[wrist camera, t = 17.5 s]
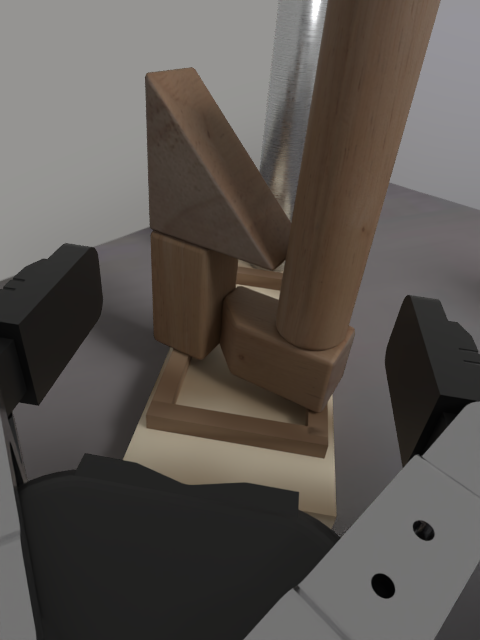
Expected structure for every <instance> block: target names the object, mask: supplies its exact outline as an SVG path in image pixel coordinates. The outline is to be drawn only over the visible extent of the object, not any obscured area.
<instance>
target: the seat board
mask: <svg viewBox="0 0 480 640" xmlns="http://www.w3.org/2000/svg"><path fill="white" fill-rule="evenodd" d="M282 277H283V272H273V271H266V270H259V269H254V268H253V267H252V266H251V265H250V263H248V262H245V261H242V260H239V259H238V270H237V280H236V287H237V286H243V287H246V288H249V289H251V290H254V291H257V292H260V293H262V294H265V295H268V296H270V297H273V298H276V299H278V300H279V296H280V290H281V283H282ZM123 460H125V461H131V462H136V463H138V464H141V465H143V466H145V467H147V468H150V469H152V470H154V471H156V472H159V473H161V474H163V475H165V476H167V477H170V478H172V479H174V480H176V481H179V482H181V483H184V484H188V485H200V484H220V483H240V482H247V483H252V484H258V485H263V486H269V487H275V488H280V489H286V490H291V491H297V492H299V510H301V511H303V512H305V513H307V514H309V515H311V516H312V517H314V518H316V519H318V520H319V521H321V522H322V523H323V524H325V525H326V526H327V527H329V528H330V529H331V530H332V527H333V525H334V522H335V519H336V487H335V458H334V428H333V399H332V395H331V397H330V399H329V401H328V402H327V404H326V406H325V408H324V409H323V410H322V411H321V412H320V413H317V412H314V411H312V410H309V409H307V408H305V407H303V406H301V405H298V404H296V403H294V402H292V401H290V400H287V399H285V398H283V397H281V396H279V395H276V394H274V393H272V392H270V391H268V390H266V389H263V388H261V387H259V386H257V385H255V384H252V383H250V382H248V381H246V380H244V379H241V378H239V377H237V376H235V375H233V374H232V373H231V372H230V370H229V368H228V365H227V363H226V360H225V357H224V355H223V352H222V349H221V346H220V343H219V344H218V345H217V346H216V347H215V348H214V349H213V350H212V351H211V352H210V353H209V354H208V355H207V356H206V357H205V358H204V359H202V360H199V359H196V358H194V357H191V356H189V355H187V354H185V353H183V352H180V351H178V350H176V349H174V348H172V347H171V348H170V350H169V352H168V355H167V357H166V359H165V362H164V364H163V366H162V369H161V371H160V373H159V376H158V378H157V381H156V383H155V385H154V388H153V390H152V392H151V395H150V397H149V399H148V402H147V404H146V406H145V409H144V411H143V414H142V416H141V418H140V421H139V423H138V425H137V428H136V430H135V432H134V435H133V437H132V440H131V442H130V444H129V447H128V449H127V451H126V454H125V456H124V458H123Z"/></svg>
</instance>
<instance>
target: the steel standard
mask: <svg viewBox="0 0 480 640" xmlns="http://www.w3.org/2000/svg"><path fill="white" fill-rule="evenodd" d="M327 2H328V0H279V1H278V10H277V19H276V28H275V37H274V46H273V55H272V64H271V73H270V82H269V91H268V100H267V109H266V118H265V127H264V135H263V145H262V154H261V162H260V171H259V172H260V174H261V175H262V177H263V179H264V180H265V182H266V183H267V185H268V187H269V188H270V190H271V191H272V193H273V195H274V196H275V198H276V199H277V201H278V203H279V204H280V206H281V207H282V209H283V211H284V212H285V214H286V215H287V217H288V218H289V220H290V222H292V216H293V210H294V204H295V198H296V192H297V186H298V179H299V173H300V167H301V161H302V155H303V149H304V143H305V137H306V130H307V124H308V118H309V112H310V106H311V100H312V94H313V88H314V82H315V75H316V69H317V63H318V57H319V51H320V45H321V39H322V33H323V27H324V20H325V14H326V8H327ZM250 265H251V266H252V267H253V268H254V269H259V270H266V271H271V270H268V269H265V268H262V267H259V266H256V265H253V264H251V263H250ZM284 265H285V261H284V262H283V263H282V264H281V265H280V266H278V267H277V268H276V269H275V270H273V272H283V271H284Z"/></svg>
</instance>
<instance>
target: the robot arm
mask: <svg viewBox="0 0 480 640" xmlns="http://www.w3.org/2000/svg"><path fill="white" fill-rule="evenodd" d="M102 304H103V296H102V287H101V277H100V268H99V259H98V253H97V251H96V249H95V248H93V247H88V246H81V245H74V244H68V243H66V244H63V245H62V246H61V247H60V248H59V249H58V250H57V251H55V252H54V253H53V255H51V256H50V257H49V258H48V259H41V260H39V261H37V262H35V263H33V264H30V265H28V266H26V267H25V268H24V269H22V270H21V271H20V272H19V273H18V274H17V275H16V276H15V277H13V280H10V281H9V282H8V283H7V284H6V285H5V286H4V287H3V289H0V640H434V638H435V637H436V635H437V633H438V632H439V630H440V628H441V626H442V625H443V623H444V621H445V619H446V618H447V616H448V614H449V613H450V611H451V609H452V607H453V606H454V604H455V602H456V600H457V599H458V597H459V595H460V594H461V592H462V590H463V588H464V587H465V585H466V583H467V581H468V580H469V578H470V576H471V575H472V573H473V571H474V569H475V568H476V566H477V564H478V563H479V561H480V354H478V349H477V347H476V345H475V343H474V340H473V338H472V336H471V335H470V334H469V333H468V332H467V331H466V330H465V329H464V328H463V327H462V326H461V325H460V324H459V323H458V322H452V321H448V320H447V317H446V315H445V312H444V310H443V307H442V305H441V302H440V301H439V300H438V299H431V298H425V297H418V296H411V295H407V296H406V297H405V299H404V301H403V303H402V306H401V308H400V311H399V314H398V317H397V320H396V322H395V325H394V328H393V331H392V334H391V336H390V339H389V342H388V345H387V349H386V356H385V368H386V374H387V380H388V385H389V391H390V397H391V403H392V408H393V414H394V420H395V426H396V431H397V437H398V443H399V449H400V454H401V460H402V466H403V469H402V470H401V471H400V472H399V473H398V474H397V476H396V477H395V478H394V479H393V480H392V481H391V482H390V483H389V485H388V486H387V487H386V488H385V489H384V490H383V491H382V492H381V494H380V495H379V496H378V497H377V498H376V499H375V500H374V501H373V503H372V504H371V505H370V506H369V507H368V508H367V509H366V510H365V512H364V513H363V514H362V515H361V516H360V517H359V518H358V519H357V521H356V522H355V523H354V524H353V525H352V526H351V527H350V528H349V530H348V531H347V532H346V533H345V534H344V535H343V536H342V537H341V538H340V537H339V536H338V535H337V534H336V533H335V532H334V531H332V530H331V529H330V528H329V527H327V526H326V525H325V524H323V523H322V522H321V521H319V520H318V519H316V518H314V517H312V516H311V515H309V514H307V513H305V512H303V511H301V510H299V492H297V491H291V490H286V489H280V488H275V487H269V486H263V485H258V484H252V483H247V482H240V483H220V484H200V485H188V484H184V483H181V482H179V481H176V480H174V479H172V478H170V477H167V476H165V475H163V474H161V473H159V472H156V471H154V470H152V469H150V468H147V467H145V466H143V465H141V464H138V463H136V462H131V461H125V460H120V459H114V458H109V457H103V456H97V455H92V454H86V453H85V454H84V456H83V458H82V460H81V462H80V464H79V466H78V468H77V469H76V470H68V471H61V472H56V473H52V474H48V475H44V476H41V477H39V478H36V479H33V480H30V481H28V480H27V476H26V471H25V466H24V461H23V456H22V452H21V447H20V442H19V437H18V432H17V427H16V422H15V418H14V415H13V409H14V408H15V407H16V405H17V404H18V403H19V402H21V403H26V404H32V405H38V406H39V404H40V403H41V401H42V400H43V398H44V397H45V396H46V394H47V393H48V391H49V390H50V388H51V387H52V386H53V384H54V383H55V381H56V380H57V378H58V377H59V375H60V374H61V373H62V371H63V370H64V368H65V367H66V365H67V364H68V362H69V361H70V360H71V358H72V357H73V355H74V354H75V352H76V351H77V350H78V348H79V347H80V345H81V344H82V342H83V341H84V339H85V338H86V337H87V335H88V334H89V332H90V331H91V329H92V328H93V326H94V325H95V324H96V322H97V321H98V319H99V317H100V314H101V310H102Z"/></svg>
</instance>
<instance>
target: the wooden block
mask: <svg viewBox="0 0 480 640" xmlns="http://www.w3.org/2000/svg"><path fill="white" fill-rule="evenodd" d="M439 3H440V0H328V2H327V8H326V14H325V20H324V27H323V33H322V39H321V45H320V51H319V57H318V63H317V69H316V75H315V82H314V88H313V94H312V100H311V106H310V112H309V118H308V124H307V130H306V137H305V143H304V149H303V155H302V161H301V167H300V173H299V179H298V186H297V192H296V198H295V204H294V210H293V216H292V222H290V220H289V218H288V217H287V215H286V214H285V212H284V211H283V209H282V207H281V206H280V204H279V203H278V201H277V199H276V198H275V196H274V195H273V193H272V191H271V190H270V188H269V187H268V185H267V183H266V182H265V180H264V179H263V177H262V175H261V174H260V172H259V171H258V169H257V167H256V166H255V164H254V163H253V161H252V159H251V158H250V156H249V155H248V153H247V151H246V150H245V148H244V147H243V145H242V143H241V142H240V140H239V139H238V137H237V136H236V134H235V133H234V131H233V129H232V128H231V126H230V124H229V123H228V121H227V120H226V118H225V116H224V115H223V113H222V112H221V110H220V108H219V107H218V105H217V104H216V102H215V100H214V99H213V97H212V96H211V94H210V92H209V91H208V89H207V88H206V86H205V85H204V83H203V81H202V80H201V78H200V76H199V75H198V73H197V72H196V70H195V69H194V68H192V67H191V68H183V69H175V70H167V71H159V72H150V73H147V74H146V76H145V87H146V119H147V152H148V183H149V215H150V228H151V229H153V231H152V233H151V262H152V294H153V326H154V338H155V339H156V340H157V341H159V342H161V343H163V344H165V345H167V346H169V347H172V348H174V349H176V350H178V351H180V352H183V353H185V354H187V355H189V356H191V357H194V358H196V359H199V360H202V359H204V358H205V357H206V356H207V355H208V354H209V353H210V352H211V351H212V350H213V349H214V348H215V347H216V346H217V345H218V344H219V343H220V346H221V349H222V352H223V355H224V357H225V360H226V363H227V365H228V368H229V370H230V372H231V373H232V374H233V375H235V376H237V377H239V378H241V379H244V380H246V381H248V382H250V383H252V384H255V385H257V386H259V387H261V388H263V389H266V390H268V391H270V392H272V393H274V394H276V395H279V396H281V397H283V398H285V399H287V400H290V401H292V402H294V403H296V404H298V405H301V406H303V407H305V408H307V409H309V410H312V411H314V412H317V413H320V412H321V411H322V410H323V409H324V408H325V406H326V404H327V402H328V401H329V399H330V397H331V395H332V394H333V392H334V390H335V388H336V387H337V385H338V383H339V382H340V380H341V378H342V376H343V373H344V370H345V366H346V363H347V360H348V356H349V353H350V349H351V346H352V343H353V339H354V336H355V329H354V328H353V327H351V326H349V323H350V319H351V315H352V312H353V308H354V305H355V301H356V298H357V294H358V291H359V287H360V284H361V280H362V277H363V273H364V269H365V266H366V262H367V259H368V255H369V252H370V248H371V245H372V241H373V238H374V234H375V231H376V227H377V223H378V220H379V216H380V213H381V209H382V206H383V202H384V199H385V195H386V192H387V188H388V185H389V181H390V177H391V174H392V170H393V167H394V163H395V160H396V156H397V153H398V149H399V145H400V142H401V139H402V135H403V131H404V128H405V124H406V121H407V117H408V114H409V110H410V107H411V103H412V100H413V96H414V92H415V88H416V85H417V82H418V78H419V75H420V71H421V68H422V64H423V60H424V57H425V53H426V50H427V47H428V43H429V39H430V36H431V32H432V29H433V25H434V22H435V18H436V14H437V11H438V8H439ZM238 259H239V260H242V261H245V262H248V263H251V264H253V265H256V266H259V267H262V268H265V269H268V270H271V271H273V270H275V269H276V268H277V267H278V266H280V265H281V264H282V263H283V262H284V261H285V265H284V271H283V277H282V283H281V290H280V296H279V300H278V299H276V298H273V297H270V296H268V295H265V294H262V293H260V292H257V291H254V290H251V289H249V288H246V287H243V286H237V287H236V280H237V270H238Z"/></svg>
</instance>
